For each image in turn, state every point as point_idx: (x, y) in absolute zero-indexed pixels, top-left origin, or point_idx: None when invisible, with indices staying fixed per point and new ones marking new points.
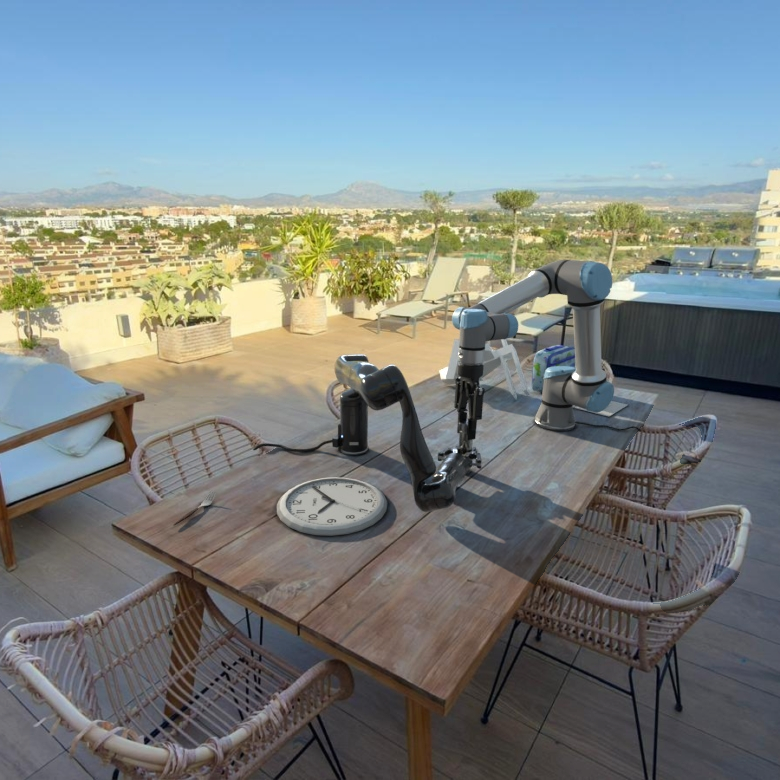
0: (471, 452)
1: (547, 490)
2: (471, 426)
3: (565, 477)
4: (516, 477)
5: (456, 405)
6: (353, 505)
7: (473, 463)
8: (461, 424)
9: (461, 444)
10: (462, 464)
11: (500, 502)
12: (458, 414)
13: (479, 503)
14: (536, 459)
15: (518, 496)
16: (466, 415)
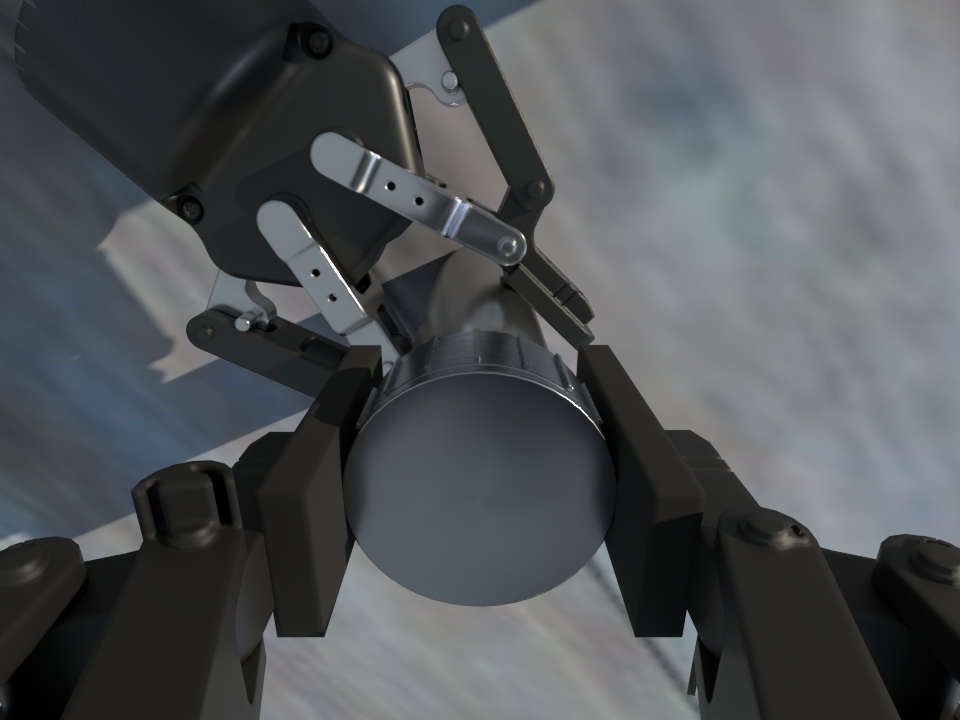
0: None
1: None
2: (264, 464)
3: None
4: None
5: (920, 604)
6: None
7: (219, 274)
8: (433, 372)
9: (454, 301)
10: (12, 72)
11: (33, 288)
12: (686, 478)
13: (30, 154)
14: (472, 708)
15: (94, 420)
16: (624, 589)
